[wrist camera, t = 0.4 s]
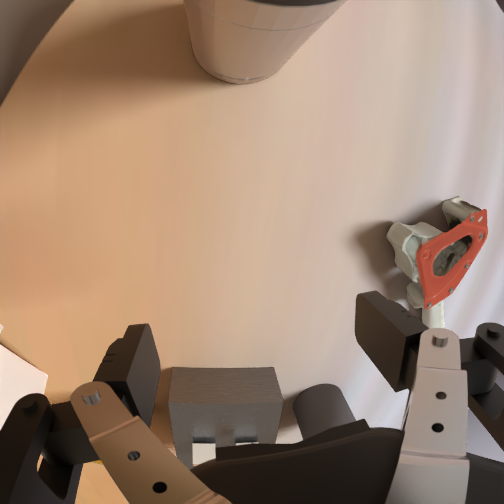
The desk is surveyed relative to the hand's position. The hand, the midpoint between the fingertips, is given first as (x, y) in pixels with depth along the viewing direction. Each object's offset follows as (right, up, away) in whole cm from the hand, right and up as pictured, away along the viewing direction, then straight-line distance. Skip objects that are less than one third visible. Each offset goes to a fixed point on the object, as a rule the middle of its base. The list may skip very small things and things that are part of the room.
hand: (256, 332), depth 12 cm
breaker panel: (-4, -17, +26) cm, 31 cm away
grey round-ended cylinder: (+9, -18, +28) cm, 34 cm away
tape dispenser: (+21, +1, +24) cm, 32 cm away
